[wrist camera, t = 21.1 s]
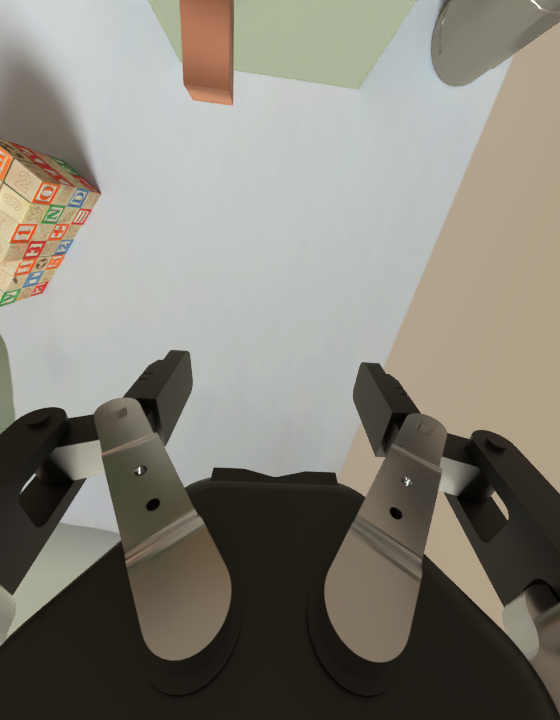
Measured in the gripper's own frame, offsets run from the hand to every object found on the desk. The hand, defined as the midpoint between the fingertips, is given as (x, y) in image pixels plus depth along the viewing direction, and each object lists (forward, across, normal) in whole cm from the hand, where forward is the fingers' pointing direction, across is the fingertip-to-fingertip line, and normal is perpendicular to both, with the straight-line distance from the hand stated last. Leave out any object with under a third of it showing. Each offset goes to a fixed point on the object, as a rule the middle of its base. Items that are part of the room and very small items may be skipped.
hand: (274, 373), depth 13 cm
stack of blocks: (+38, +37, 0) cm, 52 cm away
